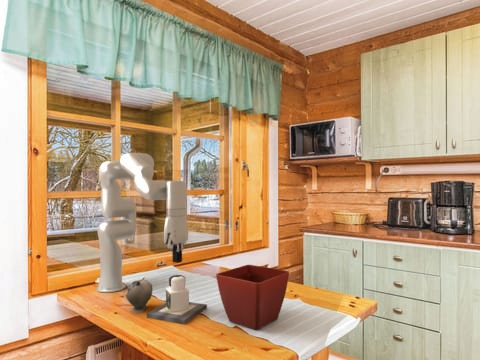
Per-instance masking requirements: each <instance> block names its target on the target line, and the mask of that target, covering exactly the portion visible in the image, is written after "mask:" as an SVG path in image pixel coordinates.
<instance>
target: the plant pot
mask: <svg viewBox="0 0 480 360" xmlns="http://www.w3.org/2000/svg"><path fill="white" fill-rule="evenodd" d="M289 274H290V271H288V270H284V269H283V270H282V269H279V268H278V269H277V268H272V267H266V266H259V265H254V264H246V265H242V266H239V267H235V268H232V269H229V270H225V271H222V272H218V273H216V282H217V288H218V291H219V295H220V299H221V303H222V306H223V309H224V311H225V314H226V317H227V319H228V321H229V322H230V323H234V324H237V325H239V326H243V327H244V328H245V327H246V328H249V329H252V330H260V329H262V328H264V327H266V326H267V325H269V324H271V323H273V322H274V321H276V320H278V318H279V316H280V313H281V310H282V306H283V304H284V300H285V296H286V291H287V287H288V281H289V276H290V275H289Z"/></svg>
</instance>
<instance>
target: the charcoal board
mask: <svg viewBox="0 0 480 360" xmlns="http://www.w3.org/2000/svg"><path fill="white" fill-rule="evenodd" d="M206 308H208V304H204V303H199V302H192V301H189V309H188V310H183V311H177V312H170V311H169V310H168V308H167V307H166V302H165V303H163V304H161V305H159V306H158V307H156V308H154V309H152V310H150V311H149V312H147V313H146V318H147V319H153V320H159V321H165V322H170V323H176V324H181V325H186V324H187V323H188V322H189V321H191V320H193V319H194V318H196V316H198V315H200V314H201V313H202V312H203V310H204V311H205V310H207V309H206Z"/></svg>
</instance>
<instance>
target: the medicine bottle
mask: <svg viewBox="0 0 480 360" xmlns="http://www.w3.org/2000/svg"><path fill="white" fill-rule="evenodd" d="M165 298H166V299H165V303H166V307H167V308H168V310H169V311H170V312H177V311H183V310H188V309H189V302H190V290H189V289H188V288H187V287H186V277H185V275H181V274H174V275H172V276H170V277H169V279H168V287H166V288H165Z"/></svg>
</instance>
